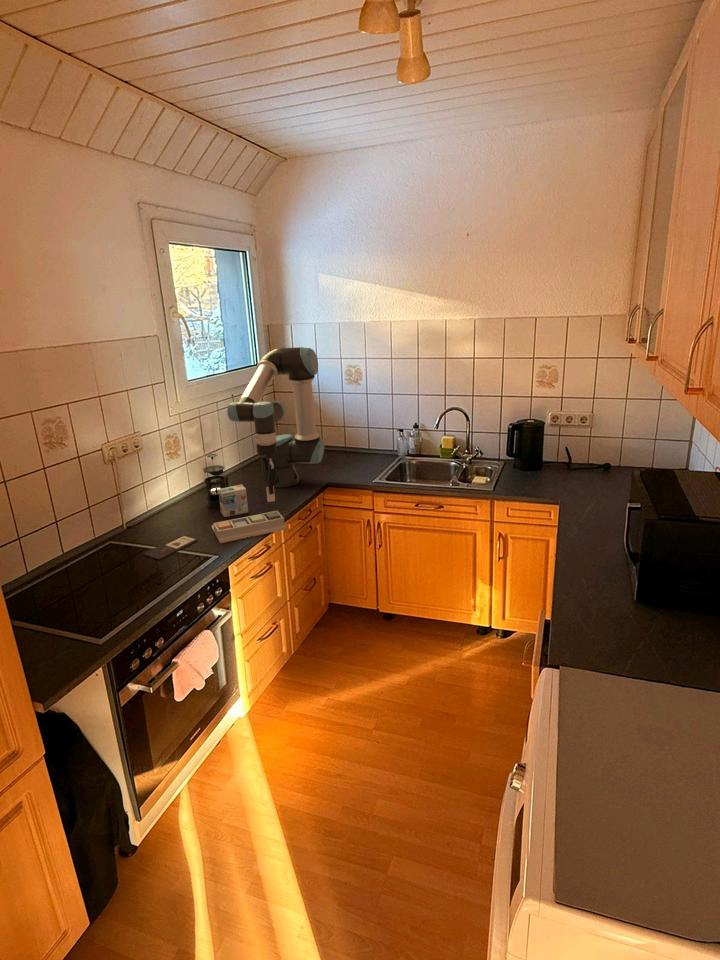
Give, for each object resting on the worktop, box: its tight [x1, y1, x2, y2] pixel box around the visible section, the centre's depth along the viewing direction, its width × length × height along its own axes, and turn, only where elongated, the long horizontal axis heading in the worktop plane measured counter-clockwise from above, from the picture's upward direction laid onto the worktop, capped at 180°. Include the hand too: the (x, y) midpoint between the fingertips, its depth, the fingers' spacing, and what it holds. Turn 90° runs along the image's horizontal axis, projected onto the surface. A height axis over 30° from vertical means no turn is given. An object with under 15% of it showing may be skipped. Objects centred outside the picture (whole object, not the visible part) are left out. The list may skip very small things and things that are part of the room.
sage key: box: [250, 514, 264, 524], centre depth 221 cm, size 4×4×2 cm
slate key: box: [234, 521, 248, 527], centre depth 219 cm, size 4×4×2 cm
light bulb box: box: [218, 484, 249, 518], centre depth 237 cm, size 11×7×11 cm, turn 118°
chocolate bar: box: [142, 535, 199, 561], centre depth 208 cm, size 9×1×18 cm
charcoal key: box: [265, 511, 280, 520], centre depth 223 cm, size 4×4×2 cm
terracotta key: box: [216, 520, 231, 530], centre depth 216 cm, size 4×4×2 cm
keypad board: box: [211, 510, 287, 544], centre depth 221 cm, size 26×16×4 cm, turn 115°
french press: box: [202, 453, 230, 509], centre depth 245 cm, size 12×9×23 cm
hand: (271, 500), depth 221 cm, fingers closed
